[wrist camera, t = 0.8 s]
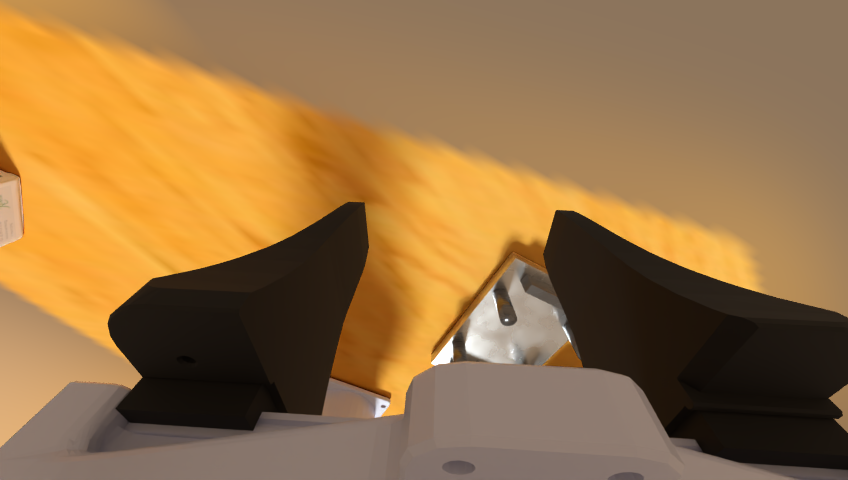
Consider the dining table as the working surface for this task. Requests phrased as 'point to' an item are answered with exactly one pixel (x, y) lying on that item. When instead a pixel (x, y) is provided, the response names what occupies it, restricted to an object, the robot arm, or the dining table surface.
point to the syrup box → (10, 208)
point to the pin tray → (510, 320)
